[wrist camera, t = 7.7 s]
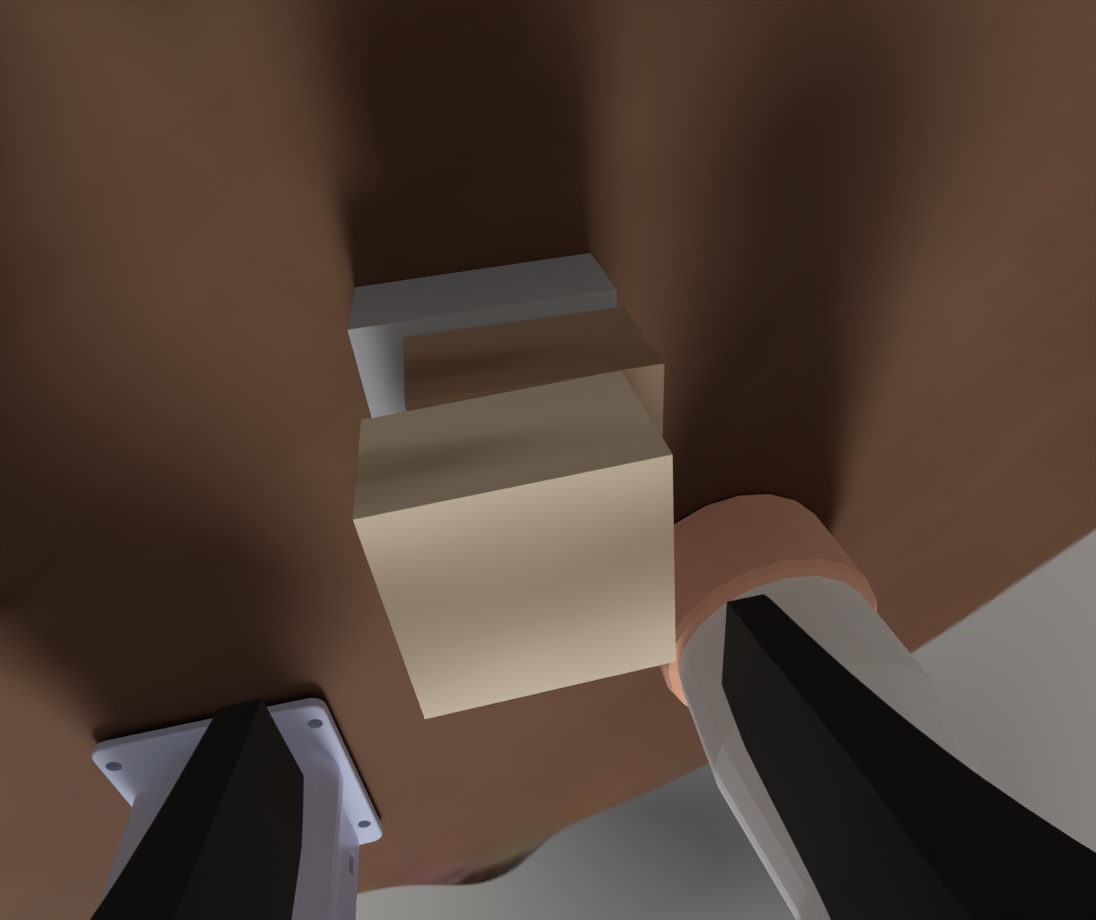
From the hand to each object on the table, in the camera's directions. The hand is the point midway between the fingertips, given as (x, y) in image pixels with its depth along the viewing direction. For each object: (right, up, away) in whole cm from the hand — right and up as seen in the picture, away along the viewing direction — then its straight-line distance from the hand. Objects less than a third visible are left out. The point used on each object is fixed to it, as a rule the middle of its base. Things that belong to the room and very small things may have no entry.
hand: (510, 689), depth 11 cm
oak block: (0, +3, +4) cm, 5 cm away
